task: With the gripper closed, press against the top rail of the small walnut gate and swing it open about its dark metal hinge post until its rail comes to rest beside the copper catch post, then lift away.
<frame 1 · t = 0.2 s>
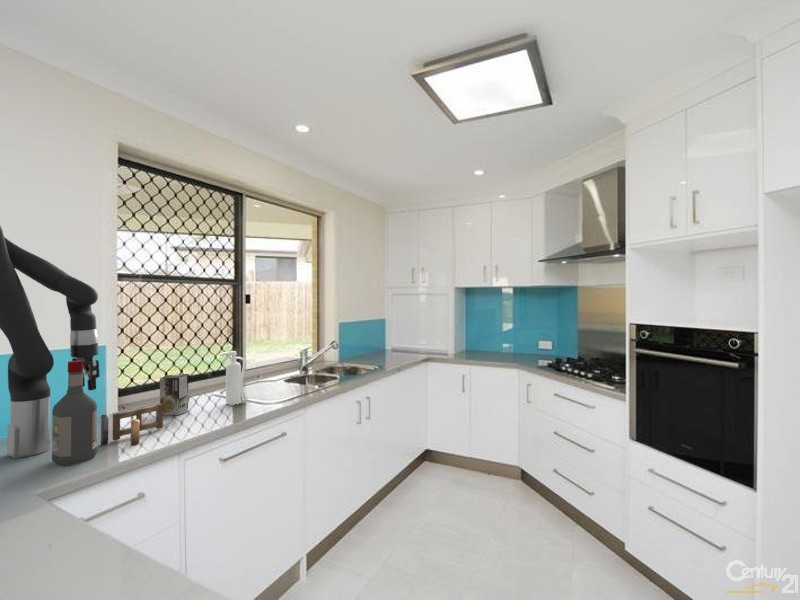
hand: (86, 388, 135), 18 cm above the countertop, tool pointing down, fingers open, 8 cm apart
gate: (138, 421, 139), point 5 cm above the countertop, hinge at 0.0°
coffee box: (174, 413, 167), on the countertop
liquor: (74, 460, 117), on the countertop
fire extinguisher: (234, 403, 183), on the countertop
hinge post: (104, 444, 130), on the countertop
catch post: (134, 443, 130), on the countertop
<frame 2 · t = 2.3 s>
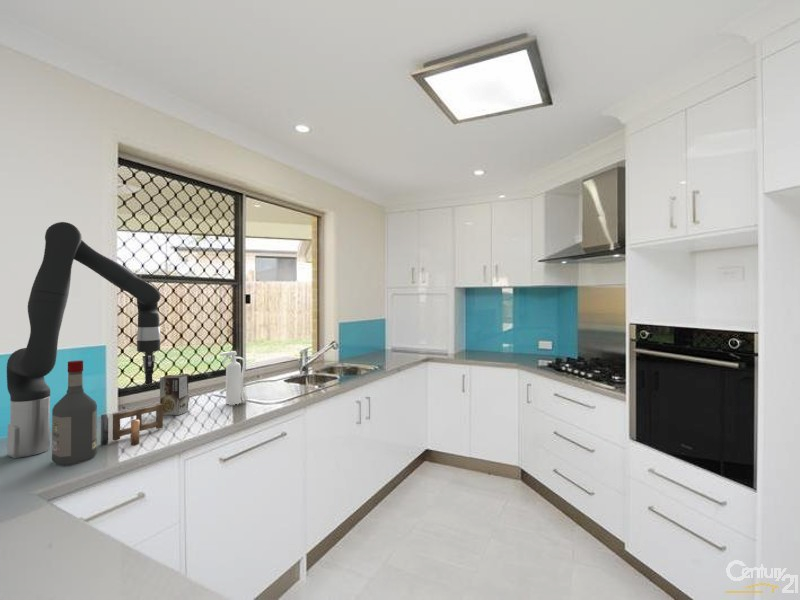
hand: (148, 383, 147), 17 cm above the countertop, tool pointing down, fingers closed
nothing on the countertop moved.
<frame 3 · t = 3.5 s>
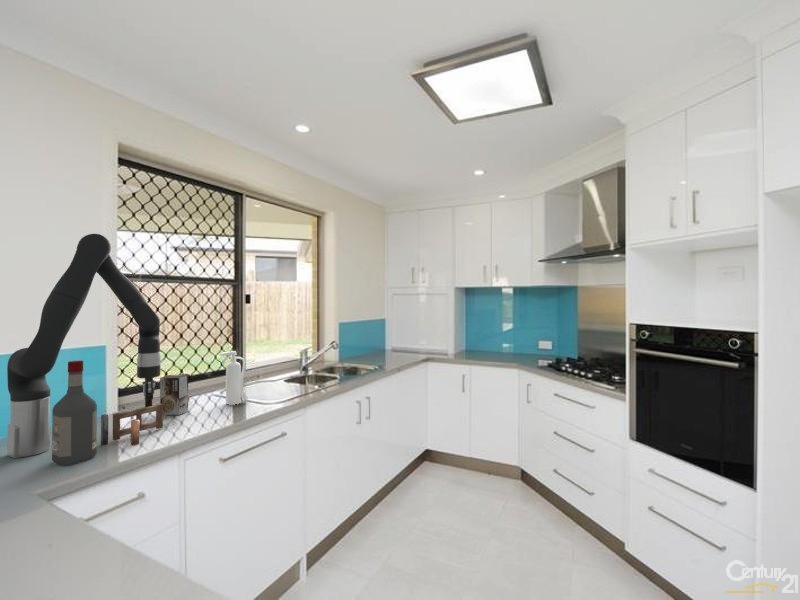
hand: (148, 409, 147), 7 cm above the countertop, tool pointing down, fingers closed
nothing on the countertop moved.
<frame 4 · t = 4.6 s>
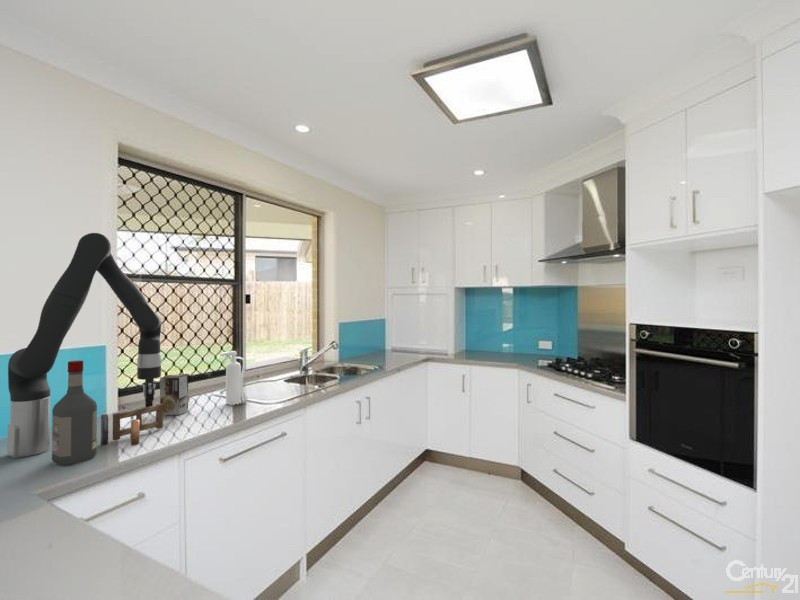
hand: (148, 411, 145), 7 cm above the countertop, tool pointing down, fingers closed
gate: (138, 421, 139), point 5 cm above the countertop, hinge at 0.1°, touching gripper
everything else where it was.
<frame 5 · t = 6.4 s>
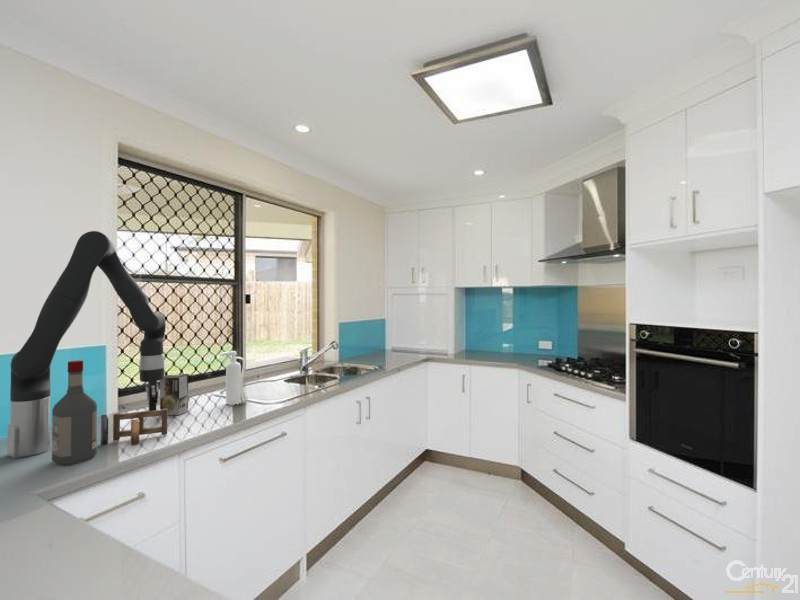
hand: (152, 414, 139), 7 cm above the countertop, tool pointing down, fingers closed
gate: (141, 424, 136), point 5 cm above the countertop, hinge at 34.0°, touching gripper
everything else where it was.
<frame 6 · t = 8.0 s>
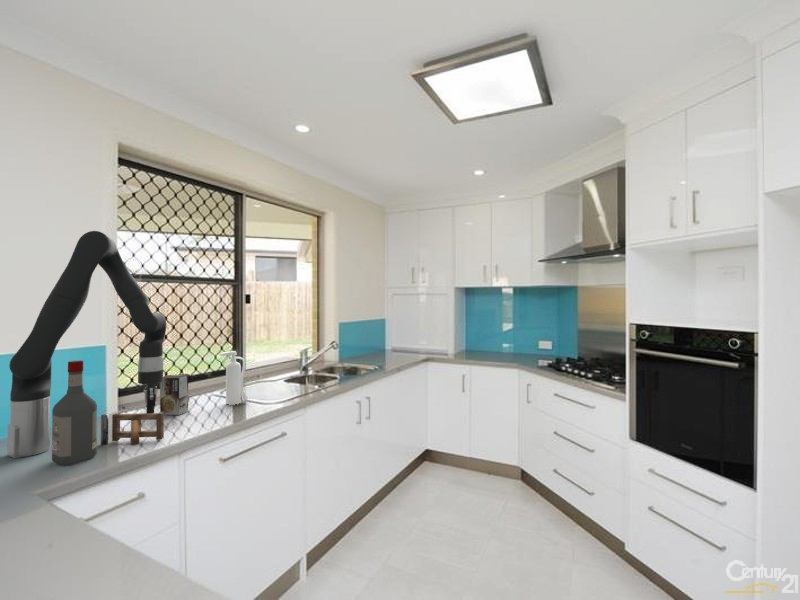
hand: (150, 417, 136), 7 cm above the countertop, tool pointing down, fingers closed
gate: (138, 426, 133), point 5 cm above the countertop, hinge at 52.6°, touching gripper
everything else where it was.
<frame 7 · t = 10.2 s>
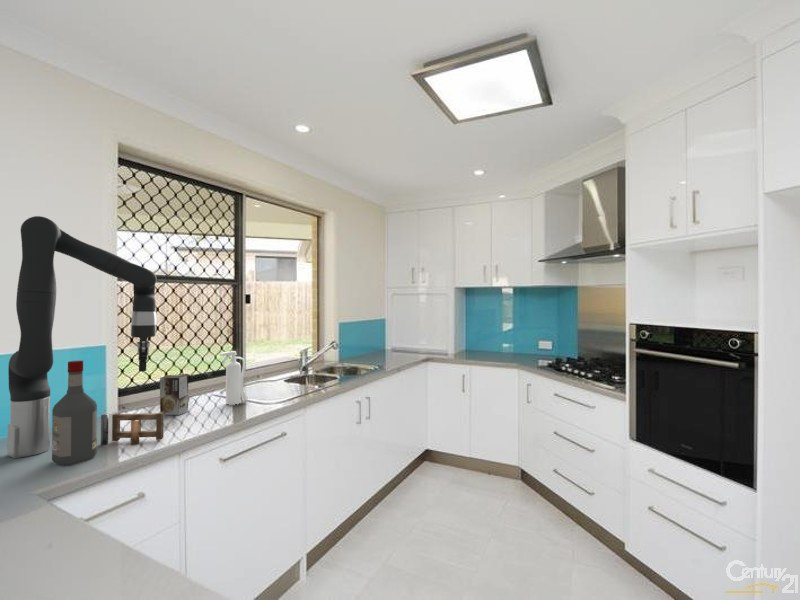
hand: (142, 371, 141), 23 cm above the countertop, tool pointing down, fingers closed
gate: (138, 426, 133), point 5 cm above the countertop, hinge at 52.8°
everything else where it was.
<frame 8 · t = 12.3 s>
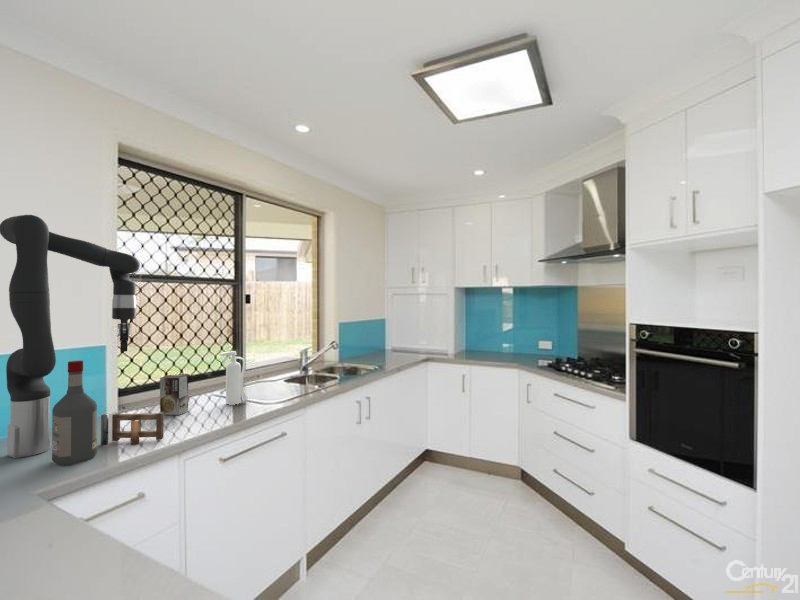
hand: (123, 351, 149), 29 cm above the countertop, tool pointing down, fingers closed
nothing on the countertop moved.
at the end: gate at +53° (first picture: +0°) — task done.
